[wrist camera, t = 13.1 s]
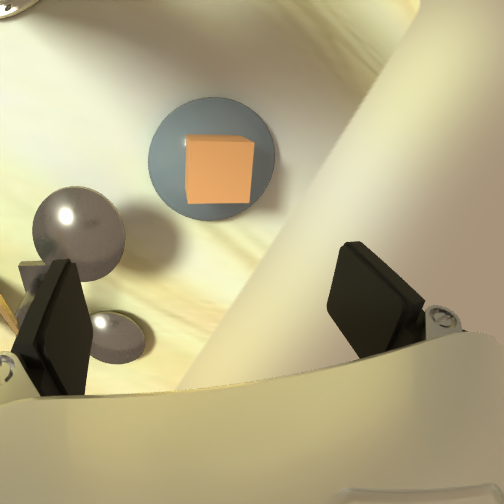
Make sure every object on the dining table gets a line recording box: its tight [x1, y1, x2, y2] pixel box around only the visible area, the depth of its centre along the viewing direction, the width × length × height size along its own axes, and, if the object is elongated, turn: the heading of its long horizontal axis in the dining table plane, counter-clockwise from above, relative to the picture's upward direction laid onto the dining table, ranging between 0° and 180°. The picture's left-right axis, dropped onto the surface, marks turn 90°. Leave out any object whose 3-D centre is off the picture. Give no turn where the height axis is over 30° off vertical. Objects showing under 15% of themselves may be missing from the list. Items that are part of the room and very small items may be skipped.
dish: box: [148, 98, 275, 221], centre depth 29 cm, size 12×12×1 cm
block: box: [185, 134, 254, 204], centre depth 26 cm, size 5×5×5 cm
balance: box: [0, 186, 145, 364], centre depth 26 cm, size 24×14×11 cm, turn 174°
